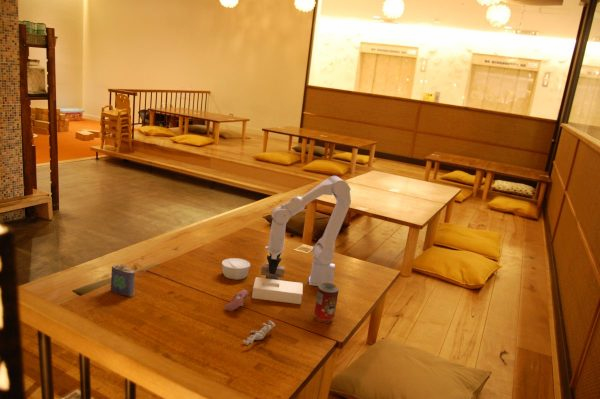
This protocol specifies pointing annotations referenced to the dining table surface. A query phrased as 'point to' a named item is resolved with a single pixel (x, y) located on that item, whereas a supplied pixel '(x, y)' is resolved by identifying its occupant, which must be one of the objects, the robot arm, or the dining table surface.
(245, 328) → the dining table surface
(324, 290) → the soda can
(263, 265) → the rail end
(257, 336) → the soldier figure
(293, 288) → the white rectangular box
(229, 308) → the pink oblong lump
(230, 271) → the ramekin
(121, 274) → the flask
